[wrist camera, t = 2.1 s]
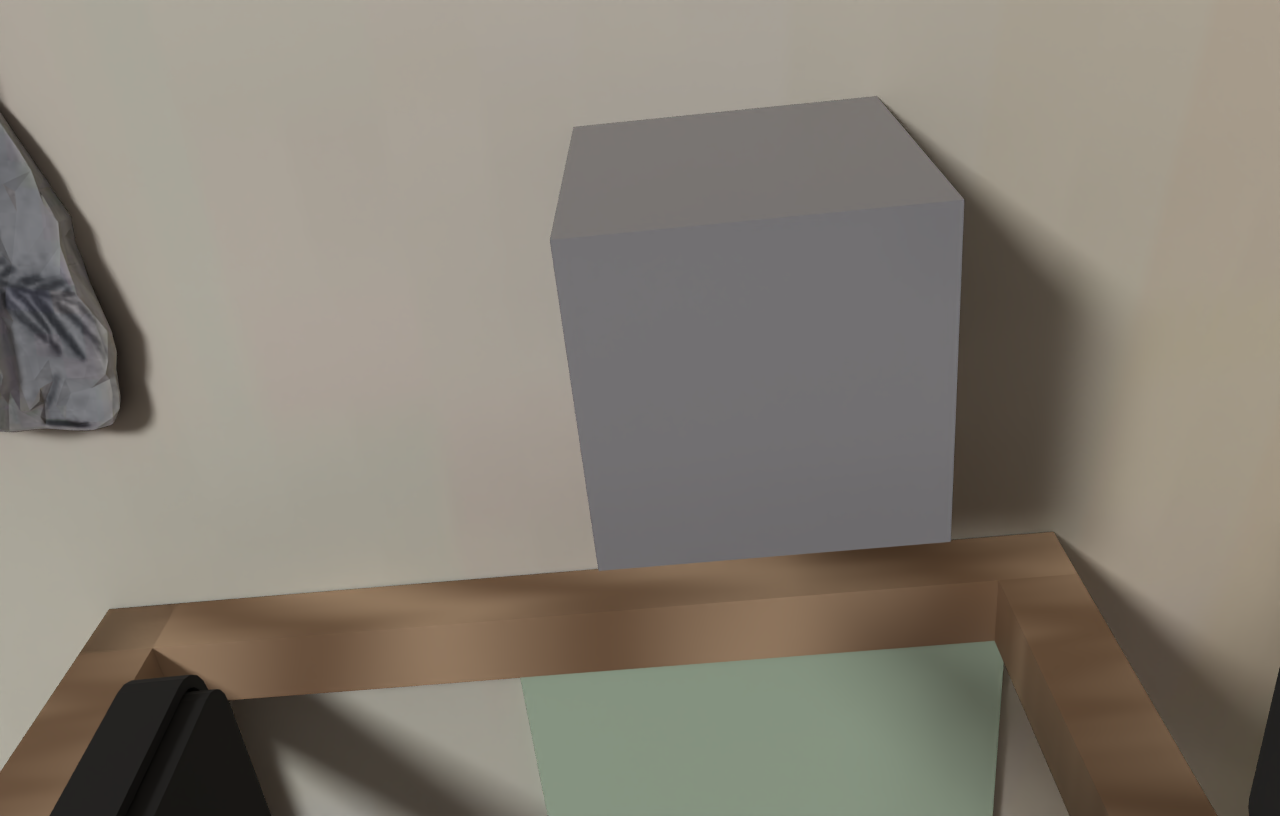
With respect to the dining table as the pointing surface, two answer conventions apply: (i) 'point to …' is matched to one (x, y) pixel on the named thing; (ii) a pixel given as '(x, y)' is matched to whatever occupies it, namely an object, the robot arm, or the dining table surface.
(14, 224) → the fossil rock
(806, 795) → the mat
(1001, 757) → the dining table surface
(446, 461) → the dining table surface
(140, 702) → the robot arm
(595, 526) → the grey block
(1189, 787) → the stand
